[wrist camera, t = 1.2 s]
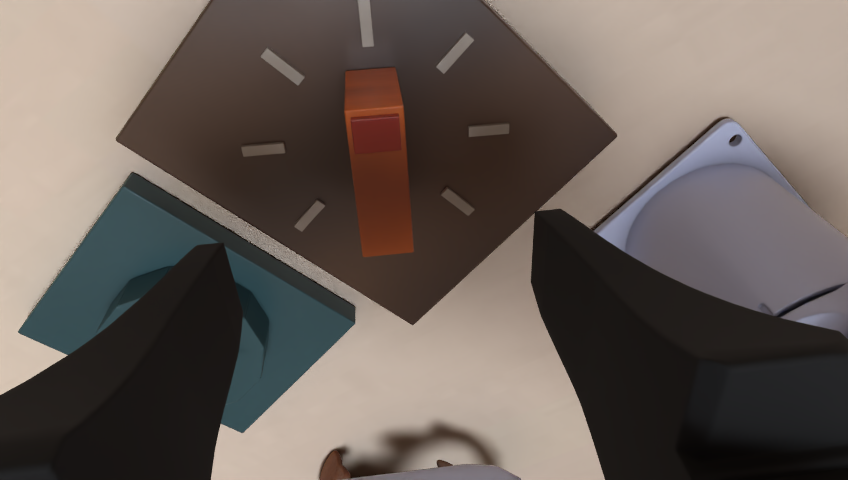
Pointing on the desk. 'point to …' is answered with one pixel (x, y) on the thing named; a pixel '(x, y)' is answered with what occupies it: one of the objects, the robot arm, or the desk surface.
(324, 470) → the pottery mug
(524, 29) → the desk surface
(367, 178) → the dial knob
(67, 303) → the button block
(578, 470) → the desk surface
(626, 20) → the desk surface
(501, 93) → the dial board
